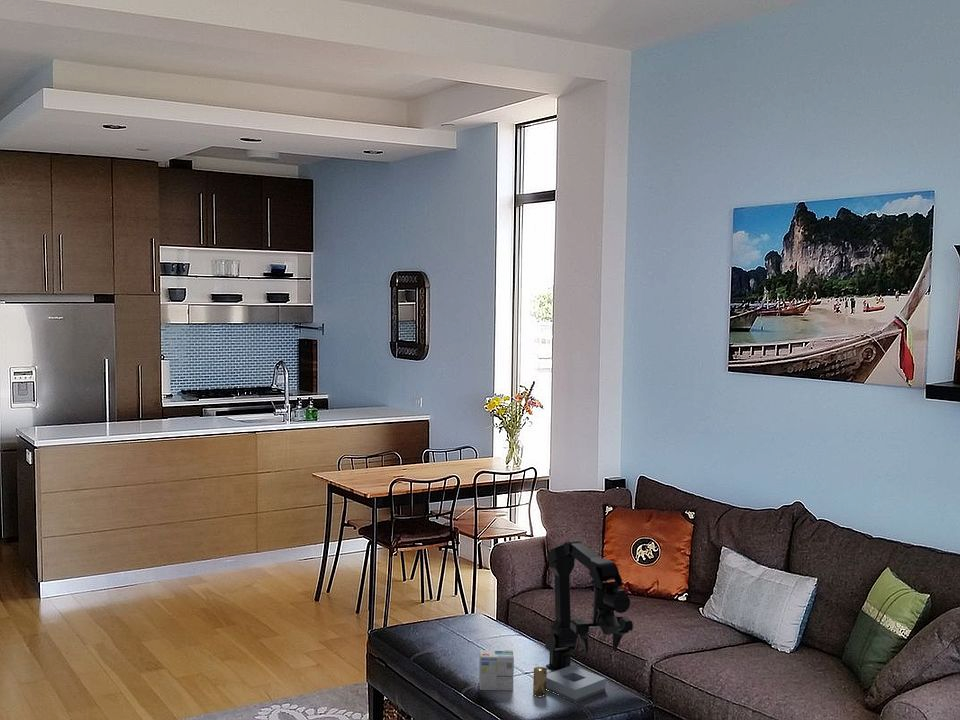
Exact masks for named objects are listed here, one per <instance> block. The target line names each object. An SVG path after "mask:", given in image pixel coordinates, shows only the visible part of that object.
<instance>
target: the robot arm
mask: <svg viewBox="0 0 960 720" xmlns="http://www.w3.org/2000/svg"><path fill="white" fill-rule="evenodd" d="M547 560H548V566H549V569H550V571H551V572H552V573H553V576H554V604H555V607H554V608H555V620H554V622H553V623H552V625H551V628H550V636H548V638H547V639H546V640H545V641H544V647H545V650H546V651H549V661H548V664H546V665H545V668H548V669H550V670H554V671H557V670H560V669H562V668H565V667H568V666H571V663H572V662H571V661H572V659H571V657H572V655H571V651H575V650H576V646H577V643H578V639H579V638H580V641H581V644H582V647H583V650H584V653H585V654H586V655H587V654H589V637H590V634H589V632H590V630H591V629H592V630H593V629H601V631H602V633H603V634H604V635H606V636H609V635H612V651H613V652H616V651H617V649H618V646H619V645H620V642H621V640H622V638H623V636H625V634H629V633H630V632H632V631H633V630H634V622H633V621H632V620H631V619H630V618H629V617H627V616H626V615H621V616H619V615H616V614H615V612H617V613H618V614H624V613H625V612H627V611H628V610H629V608H630V605H631V600H630V597H629V596H628V595H627V594H626V590H625V589H623V588H622V587H623V586H624V584H623V579H622V577H621V574H620V572H619V569H618V566H617V564H616V563H615V562H614V561H613V560H611V559H608V558H603V557H600V556H598V555H597V554H595V553H594V552H593V551H591V550H590V549H589V548H588V547H587V546H585V545H584V544H583V543H582V541H581V540H578V539H577V540H576V539H575V540H569V541H568V540H567V541H565V542H564V543H563V544H560V545H558V546H557V547H554V548H551V549H550V551H548V554H547ZM575 560H576V561H577V562H579V563H580V564H582V566H584V567H585V568H587V570H588V573H589V576H590V577H591V579H593V580H592V581H591V582H590V585H592V586H594V587H593V602H592V603H591V607H592V615H590V620H591V622H589V621H588V622H587V621H586V620H585V619H584V618H575V619H572V618H571V617H572V616H571V615H572V612H571V583H570V581H571V580H570V577H571V573H572V572H573V570H574V568H575V563H576V562H575ZM578 636H579V637H578Z"/></svg>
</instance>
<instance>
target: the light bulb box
mask: <svg viewBox="0 0 960 720" xmlns="http://www.w3.org/2000/svg"><path fill="white" fill-rule="evenodd" d="M513 651H514V650H513V649H480V650H479V665H478V668H479V671H478V672H479V675H478V680H479V681H478V682H479V683H478V684H479V691H514V669H515V668H514V666H515V665H514V664H515V658H514V657H515V656H514V652H513Z"/></svg>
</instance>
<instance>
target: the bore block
mask: <svg viewBox="0 0 960 720" xmlns="http://www.w3.org/2000/svg"><path fill="white" fill-rule="evenodd" d="M570 665H571V664H570ZM606 679H607V678H606V677H603V676H601V675H598V674H595V673H592V672H590V671H588V670H585V669H584V668H580V667H578V666H575V665H571V666H568V667H565V668H562V669H560V670H557V671H555V670H554V671H551V672H549V673H548V672H547V682H546V689H547V690H549V691H551V692H554V693H556V694H559V695H561V696H562V697H561V696H560V697H561V698H563V697H565V698H567V699H566V700H568V699H569V700H568V701H570V700H571V701H570V702H572V701H573V702H572V703H575V702H576V703H579V702H581V701H583V699H584V700H586V699H588V698H591V697H594V696H596V695H599V694H601V693H604V692H606V684H607V682H606V681H607V680H606ZM547 690H546V691H547ZM549 691H548V692H549ZM551 692H550V693H551ZM554 693H553V694H554ZM556 694H555V695H556ZM565 698H564V699H565Z"/></svg>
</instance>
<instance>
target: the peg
mask: <svg viewBox="0 0 960 720" xmlns="http://www.w3.org/2000/svg"><path fill="white" fill-rule="evenodd" d="M547 674H548V669H547V667H544V666H536V667H534V668H533V678H532V679H533V681H532V682H533V683H532V684H533V685H532V695H533V694H534V695H536V696H543V695H546V696H547V690H546V682H547ZM534 695H533V696H534Z"/></svg>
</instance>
